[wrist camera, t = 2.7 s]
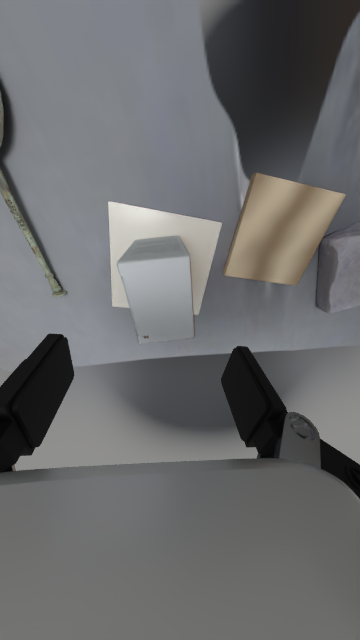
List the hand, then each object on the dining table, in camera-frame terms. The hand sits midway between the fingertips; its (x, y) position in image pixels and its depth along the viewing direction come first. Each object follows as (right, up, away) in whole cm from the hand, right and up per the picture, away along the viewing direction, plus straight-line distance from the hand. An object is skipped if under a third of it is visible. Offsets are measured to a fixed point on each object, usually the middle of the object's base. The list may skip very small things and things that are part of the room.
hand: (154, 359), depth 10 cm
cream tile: (-1, +9, +14) cm, 17 cm away
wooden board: (+14, +13, +13) cm, 23 cm away
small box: (-1, +9, +14) cm, 17 cm away
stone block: (+26, +11, +16) cm, 33 cm away
